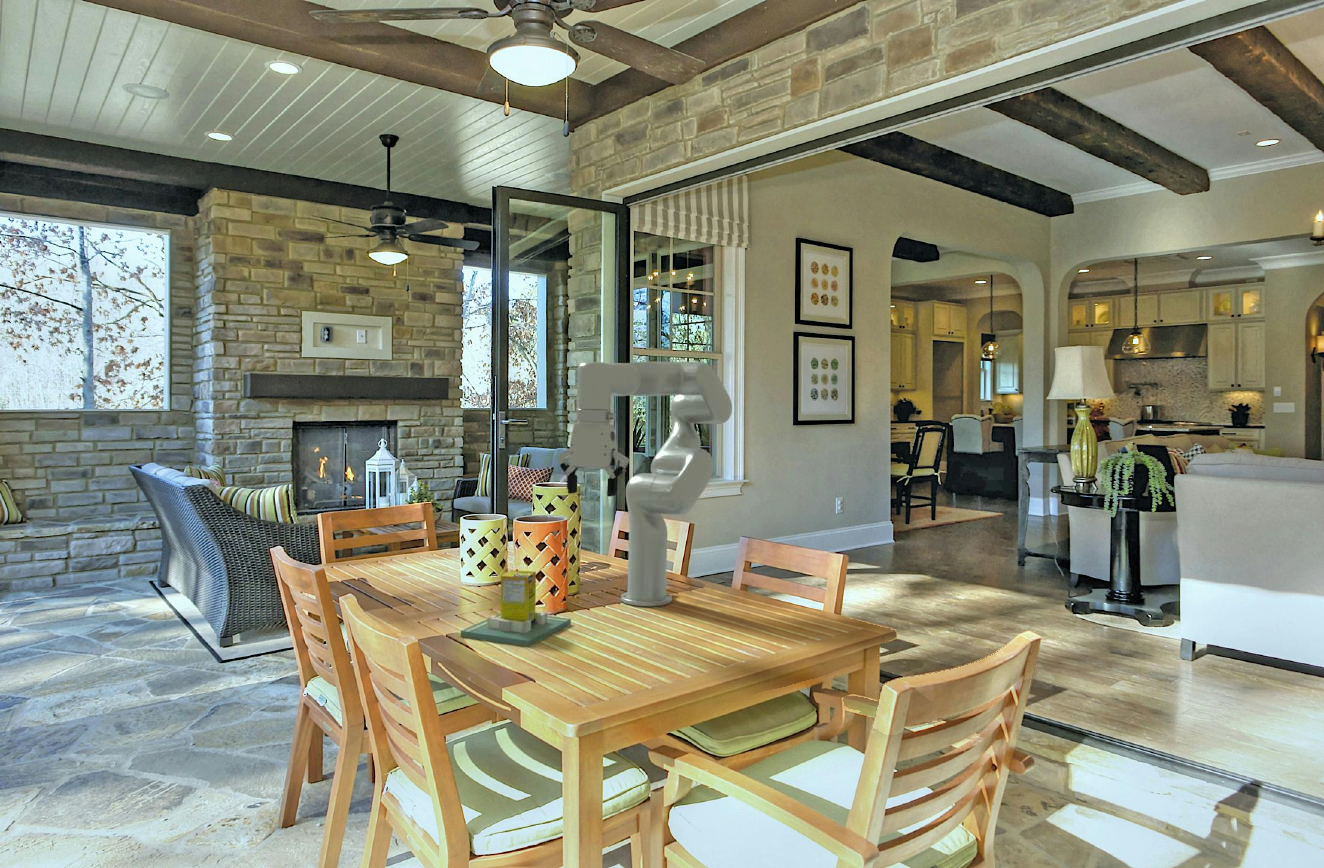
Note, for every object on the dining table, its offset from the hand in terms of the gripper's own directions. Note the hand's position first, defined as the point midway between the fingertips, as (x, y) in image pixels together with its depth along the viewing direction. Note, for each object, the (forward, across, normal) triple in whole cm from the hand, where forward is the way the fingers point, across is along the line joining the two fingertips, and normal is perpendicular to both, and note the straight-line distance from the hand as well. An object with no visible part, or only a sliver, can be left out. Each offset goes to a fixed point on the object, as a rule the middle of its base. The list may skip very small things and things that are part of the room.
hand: (591, 494), depth 179 cm
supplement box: (+27, +10, +14) cm, 32 cm away
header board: (+28, +10, +14) cm, 33 cm away
